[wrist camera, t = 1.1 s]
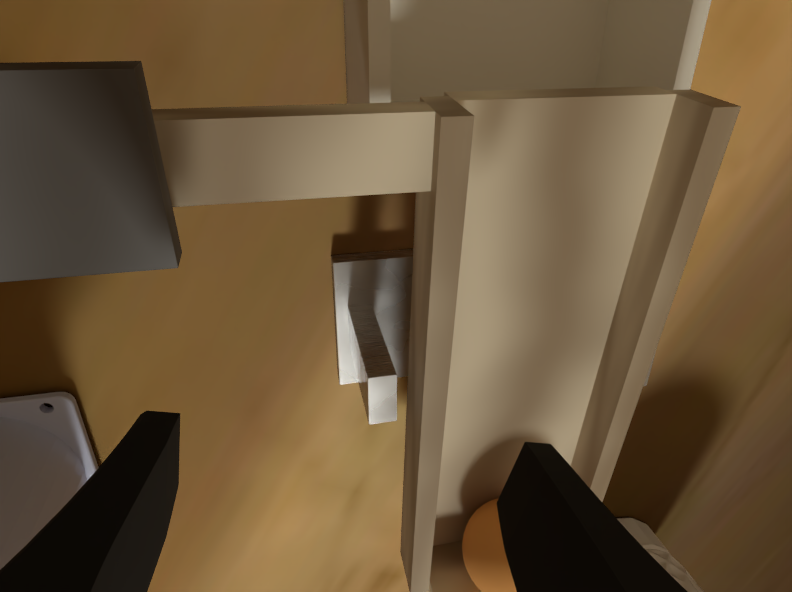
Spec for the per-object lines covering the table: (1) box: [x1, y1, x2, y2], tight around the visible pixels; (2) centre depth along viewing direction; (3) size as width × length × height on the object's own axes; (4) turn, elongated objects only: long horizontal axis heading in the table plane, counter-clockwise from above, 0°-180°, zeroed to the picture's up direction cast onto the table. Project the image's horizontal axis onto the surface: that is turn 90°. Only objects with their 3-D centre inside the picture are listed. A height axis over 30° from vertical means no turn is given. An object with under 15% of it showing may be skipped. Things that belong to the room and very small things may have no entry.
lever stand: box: [331, 249, 656, 424], centre depth 23 cm, size 12×6×6 cm, turn 89°
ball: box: [462, 498, 517, 592], centre depth 22 cm, size 4×4×4 cm
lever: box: [0, 61, 741, 592], centre depth 18 cm, size 19×21×3 cm
